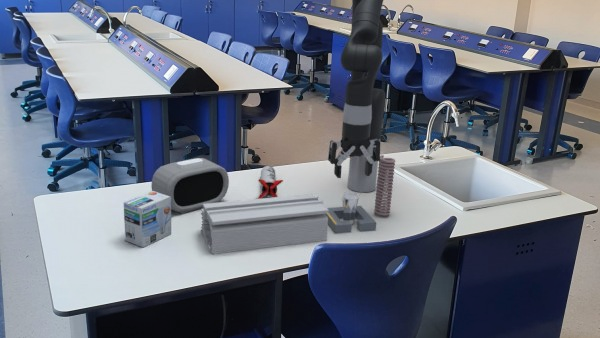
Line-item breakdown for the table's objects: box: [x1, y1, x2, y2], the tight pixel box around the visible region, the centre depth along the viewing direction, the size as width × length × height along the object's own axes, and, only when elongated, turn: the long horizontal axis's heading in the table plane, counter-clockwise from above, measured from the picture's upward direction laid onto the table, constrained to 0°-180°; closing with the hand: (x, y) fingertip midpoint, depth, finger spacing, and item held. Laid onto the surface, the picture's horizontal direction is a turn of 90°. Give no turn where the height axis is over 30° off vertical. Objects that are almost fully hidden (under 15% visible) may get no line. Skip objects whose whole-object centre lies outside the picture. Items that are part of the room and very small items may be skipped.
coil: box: [373, 154, 396, 216], centre depth 175 cm, size 5×5×18 cm
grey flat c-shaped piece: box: [324, 205, 377, 234], centre depth 171 cm, size 12×12×3 cm
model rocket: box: [257, 165, 284, 199], centre depth 193 cm, size 11×23×10 cm
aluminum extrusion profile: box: [200, 193, 329, 255], centre depth 160 cm, size 14×31×10 cm, turn 110°
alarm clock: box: [151, 157, 230, 214], centre depth 176 cm, size 21×10×13 cm, turn 131°
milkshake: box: [342, 191, 363, 226], centre depth 170 cm, size 5×5×10 cm
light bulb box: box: [123, 190, 172, 248], centre depth 155 cm, size 11×7×11 cm, turn 148°
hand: (352, 176), depth 167 cm, fingers open, 8 cm apart
